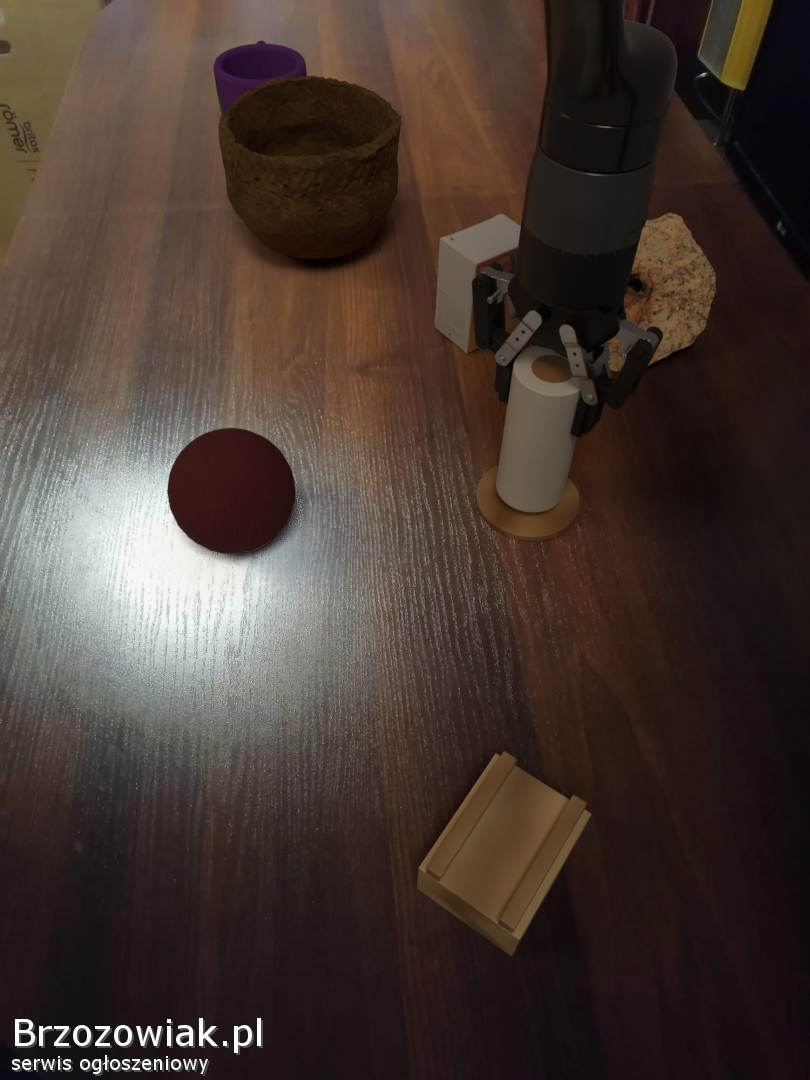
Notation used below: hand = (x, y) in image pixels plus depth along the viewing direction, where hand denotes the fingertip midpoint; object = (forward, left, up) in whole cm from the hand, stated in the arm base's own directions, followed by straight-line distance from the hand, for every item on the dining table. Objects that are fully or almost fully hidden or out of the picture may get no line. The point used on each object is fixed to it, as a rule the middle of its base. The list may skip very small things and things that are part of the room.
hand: (544, 412), depth 67 cm
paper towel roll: (0, 0, -2) cm, 2 cm away
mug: (+61, -37, -11) cm, 72 cm away
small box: (+16, -18, -11) cm, 26 cm away
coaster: (0, 0, -10) cm, 10 cm away
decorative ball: (+18, +17, -11) cm, 27 cm away
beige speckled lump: (+4, -26, -11) cm, 28 cm away
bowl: (+39, -20, -11) cm, 45 cm away
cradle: (-14, +28, -10) cm, 33 cm away
